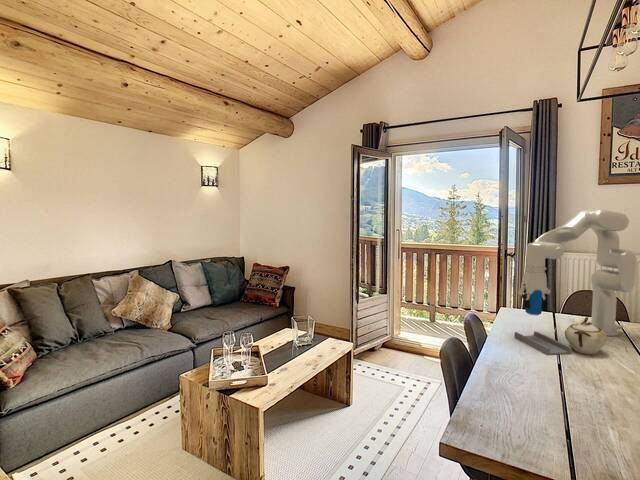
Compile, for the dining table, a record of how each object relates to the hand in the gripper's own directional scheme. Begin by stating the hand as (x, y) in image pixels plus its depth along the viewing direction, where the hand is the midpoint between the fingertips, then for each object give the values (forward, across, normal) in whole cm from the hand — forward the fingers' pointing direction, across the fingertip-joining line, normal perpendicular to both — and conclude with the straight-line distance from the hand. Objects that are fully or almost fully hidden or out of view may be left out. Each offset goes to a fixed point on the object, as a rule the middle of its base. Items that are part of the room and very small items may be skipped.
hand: (533, 307), depth 173 cm
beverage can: (+3, 0, 0) cm, 3 cm away
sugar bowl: (+16, -14, +14) cm, 26 cm away
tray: (+16, 0, +6) cm, 17 cm away
